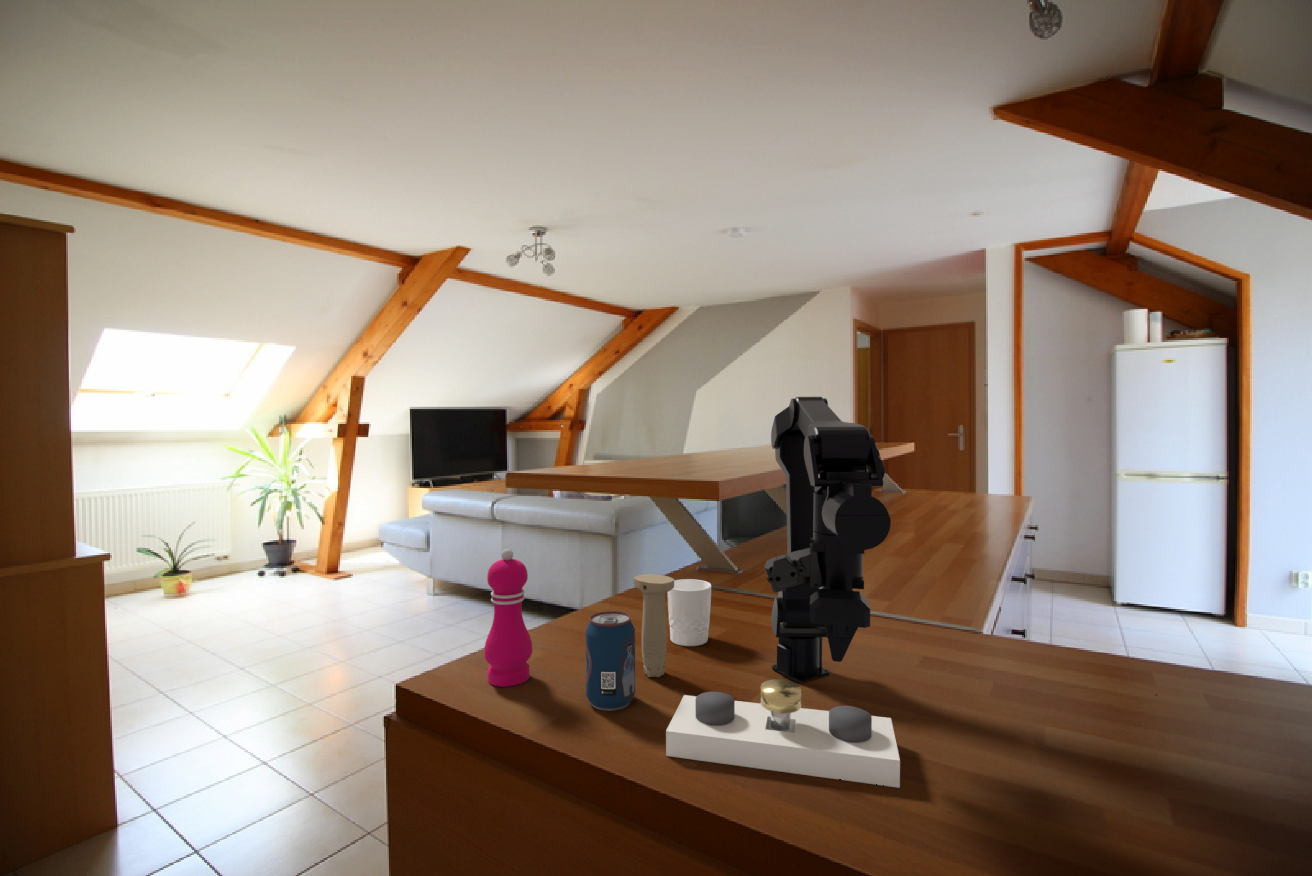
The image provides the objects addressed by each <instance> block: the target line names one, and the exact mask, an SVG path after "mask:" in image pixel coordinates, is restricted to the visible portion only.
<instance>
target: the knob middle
mask: <svg viewBox="0 0 1312 876" xmlns="http://www.w3.org/2000/svg"><path fill="white" fill-rule="evenodd" d="M760 704H761V705H762V707H764V708H765V709H767V710H769V711H771V727H772V728H773V729H775V730H778V731H787V730H789V729H790V728H791V713H792V712H796V711H798V710H799V709H800V708H802V687H801V686H800V685H799V684H797V683H796V682H793V681H791V680H786V679H781V678H779V679H777V678H776V679H769V680H765V681H763V682H761V684H760Z"/></svg>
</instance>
